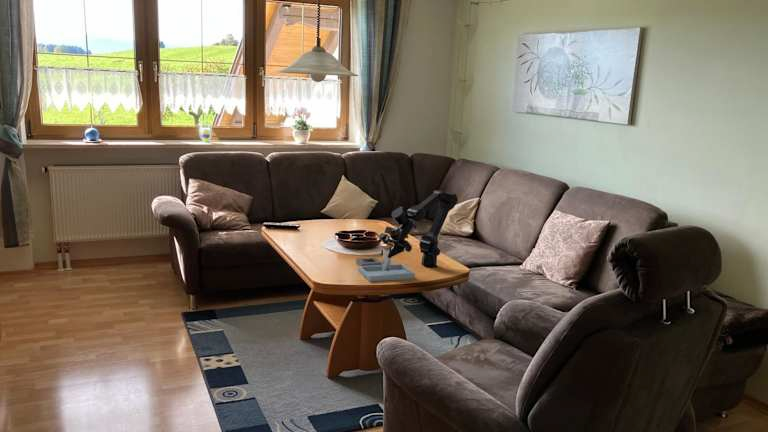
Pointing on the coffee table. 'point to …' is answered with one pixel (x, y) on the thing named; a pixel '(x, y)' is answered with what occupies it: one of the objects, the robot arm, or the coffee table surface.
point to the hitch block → (368, 261)
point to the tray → (386, 273)
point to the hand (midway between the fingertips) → (384, 256)
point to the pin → (386, 256)
